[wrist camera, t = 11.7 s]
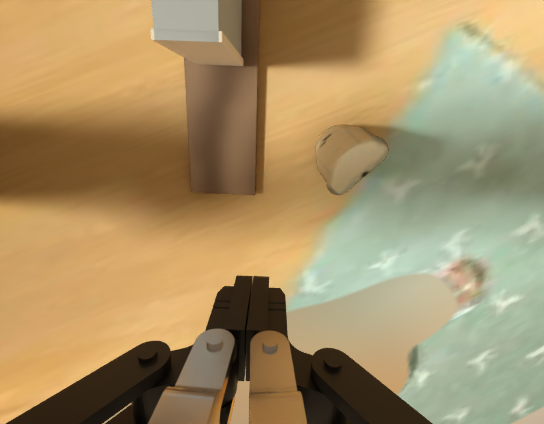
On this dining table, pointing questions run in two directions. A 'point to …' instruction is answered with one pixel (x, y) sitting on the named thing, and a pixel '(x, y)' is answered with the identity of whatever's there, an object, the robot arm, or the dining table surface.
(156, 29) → the grey square block
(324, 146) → the beige rounded block
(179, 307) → the dining table surface
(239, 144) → the rail
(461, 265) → the dining table surface
